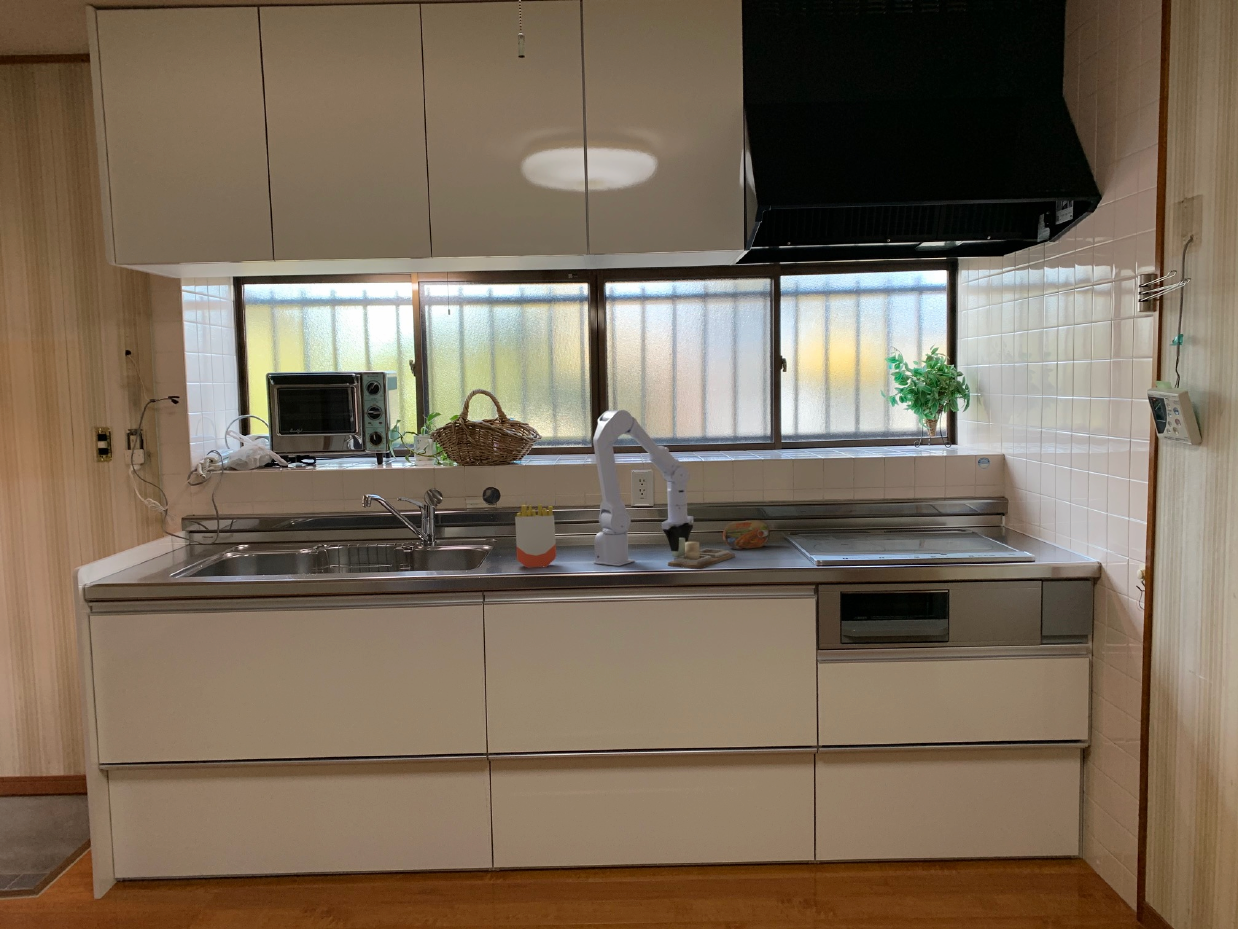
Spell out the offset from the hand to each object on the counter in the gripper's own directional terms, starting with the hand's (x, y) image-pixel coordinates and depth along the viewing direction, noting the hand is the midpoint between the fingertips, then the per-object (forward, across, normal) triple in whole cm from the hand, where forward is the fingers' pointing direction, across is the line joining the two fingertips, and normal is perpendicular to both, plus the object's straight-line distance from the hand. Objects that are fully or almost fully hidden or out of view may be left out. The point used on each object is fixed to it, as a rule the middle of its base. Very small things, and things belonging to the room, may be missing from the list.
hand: (678, 549), depth 249 cm
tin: (+2, +20, -12) cm, 23 cm away
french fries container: (+2, -32, +28) cm, 43 cm away
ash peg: (0, -10, -11) cm, 15 cm away
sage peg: (+2, 0, 0) cm, 2 cm away
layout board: (+2, -5, -11) cm, 12 cm away
